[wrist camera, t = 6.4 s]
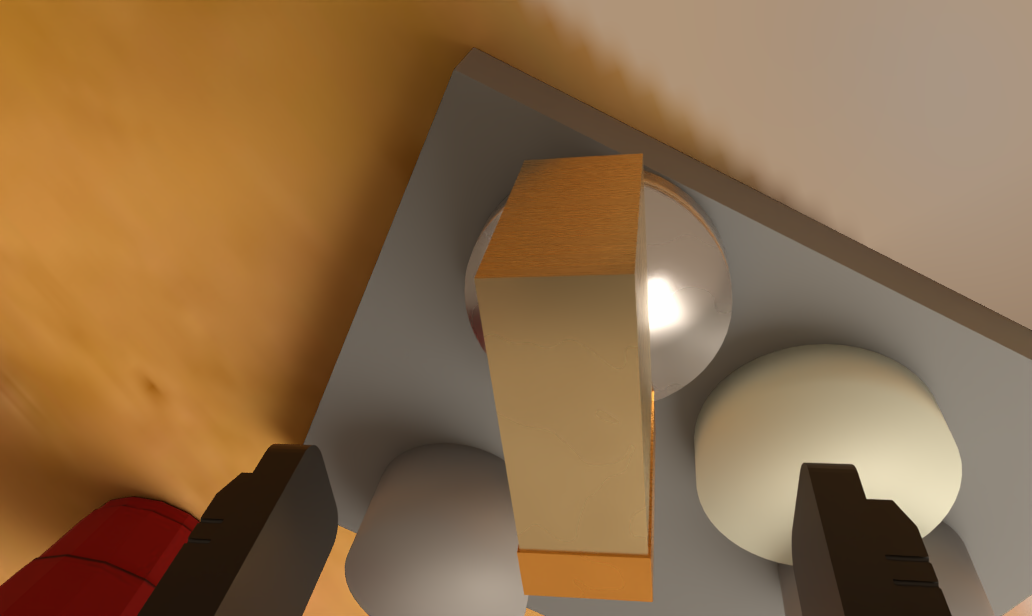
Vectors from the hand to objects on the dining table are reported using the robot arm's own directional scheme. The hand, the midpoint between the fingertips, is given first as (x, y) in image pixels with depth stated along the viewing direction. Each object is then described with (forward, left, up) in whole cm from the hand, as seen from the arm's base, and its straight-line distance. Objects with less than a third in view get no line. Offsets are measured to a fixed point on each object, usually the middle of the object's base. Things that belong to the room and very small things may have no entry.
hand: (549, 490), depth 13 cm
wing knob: (0, 0, -7) cm, 7 cm away
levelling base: (+5, -4, -9) cm, 11 cm away
